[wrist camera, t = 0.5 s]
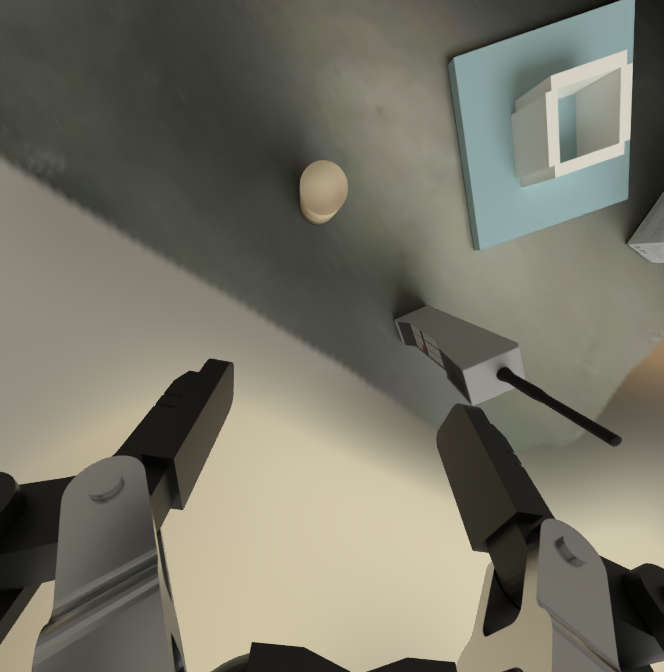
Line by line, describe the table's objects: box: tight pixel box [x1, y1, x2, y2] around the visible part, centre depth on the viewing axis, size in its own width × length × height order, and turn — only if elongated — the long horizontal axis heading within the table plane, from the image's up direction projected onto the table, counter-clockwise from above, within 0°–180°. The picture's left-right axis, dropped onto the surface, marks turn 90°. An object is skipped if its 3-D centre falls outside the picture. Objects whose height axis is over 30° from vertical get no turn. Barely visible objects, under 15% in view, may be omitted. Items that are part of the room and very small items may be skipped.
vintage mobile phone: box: [394, 305, 622, 446], centre depth 26 cm, size 4×5×25 cm
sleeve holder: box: [448, 0, 635, 250], centre depth 29 cm, size 20×20×6 cm
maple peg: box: [300, 160, 348, 225], centre depth 27 cm, size 4×4×10 cm
